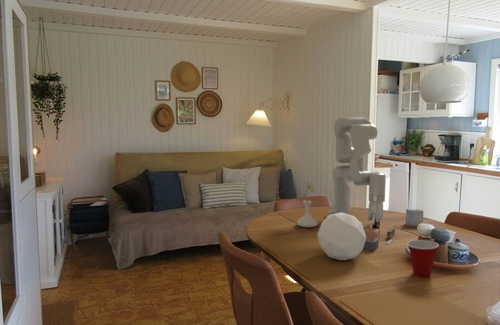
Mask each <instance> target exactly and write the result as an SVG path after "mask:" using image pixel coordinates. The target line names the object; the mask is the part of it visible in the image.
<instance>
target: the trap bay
mask: <svg viewBox="0 0 500 325" xmlns="http://www.w3.org/2000/svg"><path fill="white" fill-rule="evenodd" d="M379 242H380V240H379V239H375V240H374V241H368V240H365V243H364V247H363V250H365V251H370V250H371V252H376V250H377V249H379Z"/></svg>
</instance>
